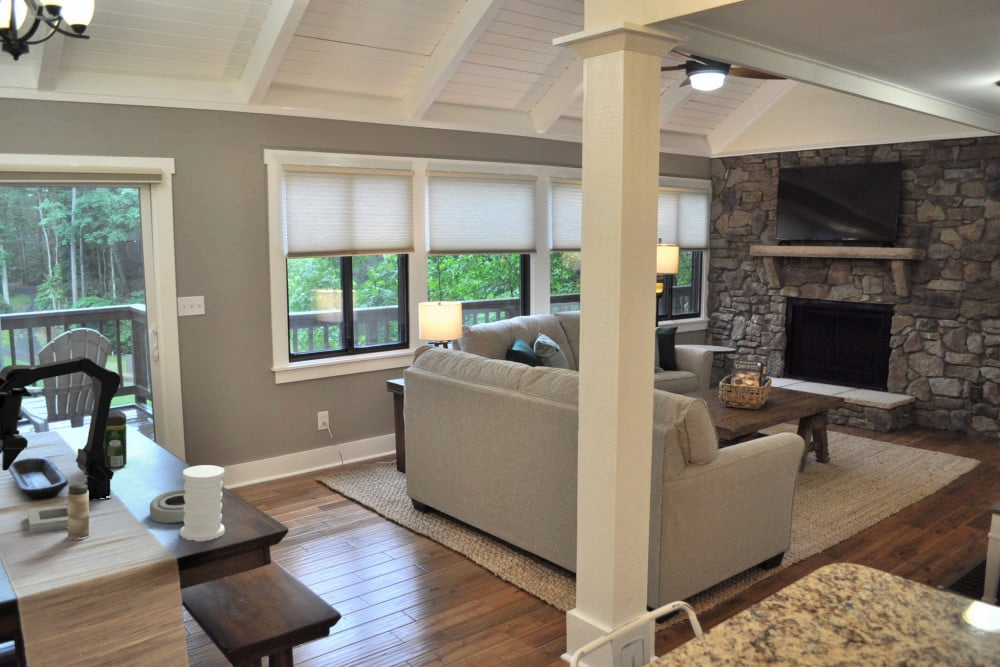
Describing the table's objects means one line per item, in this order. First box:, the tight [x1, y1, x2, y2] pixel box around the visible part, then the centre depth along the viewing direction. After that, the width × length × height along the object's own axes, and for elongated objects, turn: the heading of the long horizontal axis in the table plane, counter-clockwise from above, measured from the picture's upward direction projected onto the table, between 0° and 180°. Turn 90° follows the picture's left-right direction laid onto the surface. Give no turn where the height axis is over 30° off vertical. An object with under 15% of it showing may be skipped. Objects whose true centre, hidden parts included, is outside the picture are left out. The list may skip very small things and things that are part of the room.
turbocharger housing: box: [149, 488, 185, 524], centre depth 235 cm, size 17×6×15 cm
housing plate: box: [27, 504, 68, 534], centre depth 223 cm, size 12×12×2 cm
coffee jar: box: [104, 410, 128, 469], centre depth 273 cm, size 10×8×19 cm
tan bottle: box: [67, 483, 90, 539], centre depth 214 cm, size 5×5×14 cm
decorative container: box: [179, 464, 226, 542], centre depth 221 cm, size 12×12×18 cm
